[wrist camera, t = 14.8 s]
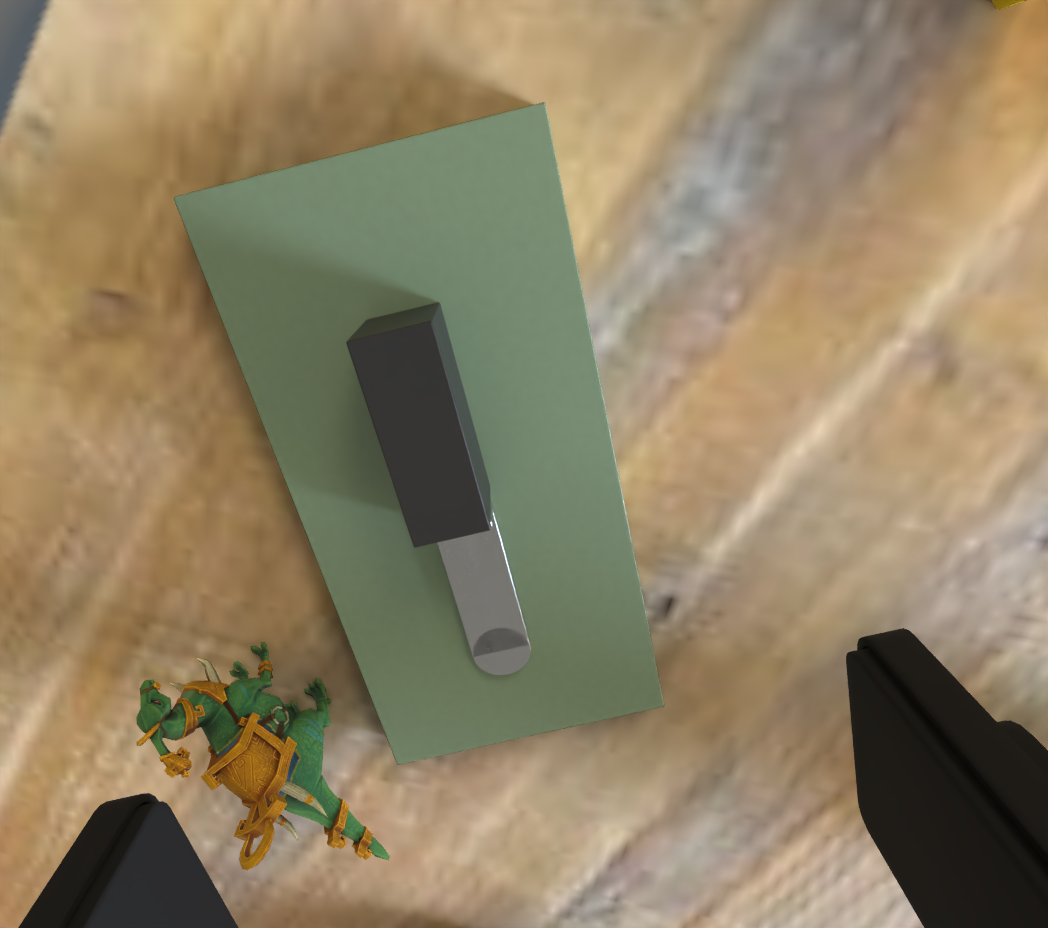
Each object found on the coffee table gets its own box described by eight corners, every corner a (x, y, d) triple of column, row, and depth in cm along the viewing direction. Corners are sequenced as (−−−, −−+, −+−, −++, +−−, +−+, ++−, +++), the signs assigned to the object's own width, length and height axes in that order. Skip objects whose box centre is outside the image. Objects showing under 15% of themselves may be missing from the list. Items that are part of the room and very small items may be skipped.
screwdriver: (365, 319, 24) (345, 341, 20) (440, 301, 23) (432, 320, 20) (478, 675, 29) (476, 738, 26) (538, 662, 29) (545, 723, 26)
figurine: (214, 591, 29) (116, 735, 21) (425, 749, 32) (406, 921, 25) (167, 636, 29) (57, 791, 22) (379, 786, 33) (347, 964, 25)
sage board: (656, 684, 32) (664, 707, 30) (401, 740, 32) (397, 765, 31) (541, 107, 23) (545, 101, 21) (191, 196, 23) (172, 196, 22)
